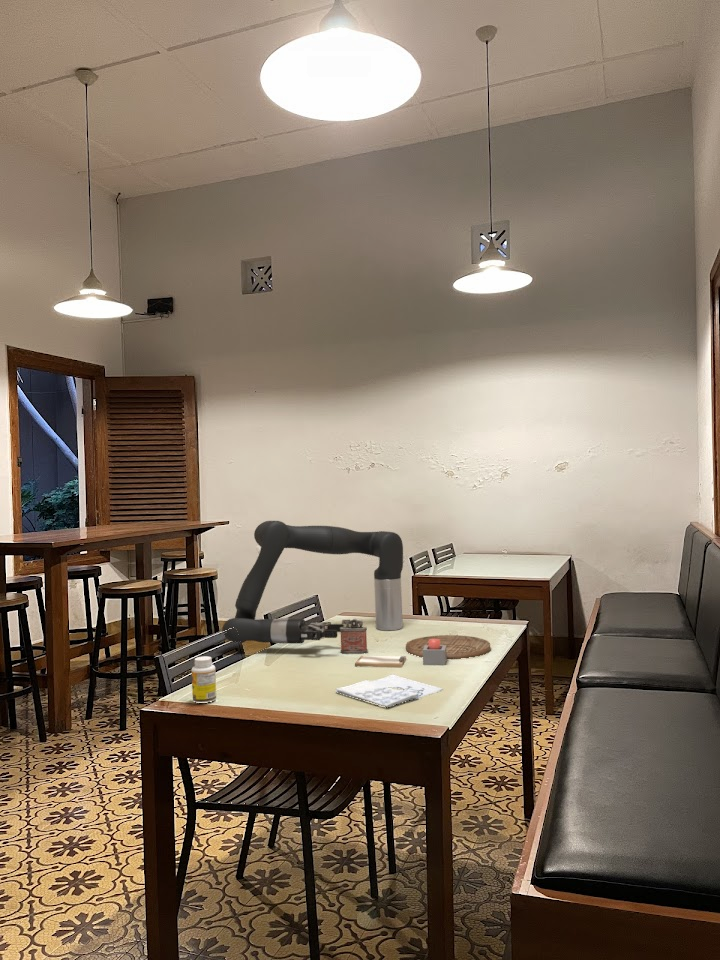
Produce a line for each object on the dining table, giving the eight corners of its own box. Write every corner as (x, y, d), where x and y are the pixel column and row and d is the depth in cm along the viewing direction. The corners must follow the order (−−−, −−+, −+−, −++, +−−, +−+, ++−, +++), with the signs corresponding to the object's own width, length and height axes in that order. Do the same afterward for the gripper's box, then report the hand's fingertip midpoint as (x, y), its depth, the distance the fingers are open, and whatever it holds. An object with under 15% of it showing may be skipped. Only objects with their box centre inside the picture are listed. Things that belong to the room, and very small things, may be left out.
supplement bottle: (195, 698, 176) (194, 655, 176) (218, 697, 176) (217, 654, 176) (190, 705, 171) (188, 661, 171) (213, 704, 170) (212, 660, 170)
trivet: (418, 639, 234) (418, 633, 234) (497, 643, 225) (496, 636, 225) (395, 658, 210) (395, 651, 210) (481, 662, 202) (481, 656, 202)
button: (429, 653, 205) (429, 638, 205) (441, 653, 204) (440, 638, 204) (428, 656, 201) (427, 641, 201) (440, 656, 201) (439, 641, 201)
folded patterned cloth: (333, 695, 177) (333, 686, 177) (394, 678, 190) (394, 670, 190) (386, 712, 162) (385, 702, 162) (448, 693, 175) (448, 684, 175)
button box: (425, 659, 206) (424, 645, 206) (446, 659, 205) (446, 645, 205) (423, 664, 200) (422, 650, 200) (445, 665, 199) (444, 650, 199)
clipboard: (361, 658, 210) (361, 653, 210) (406, 659, 207) (405, 654, 207) (354, 666, 201) (354, 661, 201) (401, 667, 198) (401, 662, 198)
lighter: (368, 651, 219) (366, 617, 219) (367, 653, 215) (365, 620, 215) (341, 651, 219) (340, 618, 219) (340, 654, 216) (338, 620, 216)
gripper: (280, 623, 214) (334, 623, 211) (294, 614, 228) (345, 613, 225) (281, 648, 214) (335, 649, 211) (295, 637, 228) (346, 638, 225)
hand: (340, 630), depth 218 cm, fingers open, 8 cm apart
